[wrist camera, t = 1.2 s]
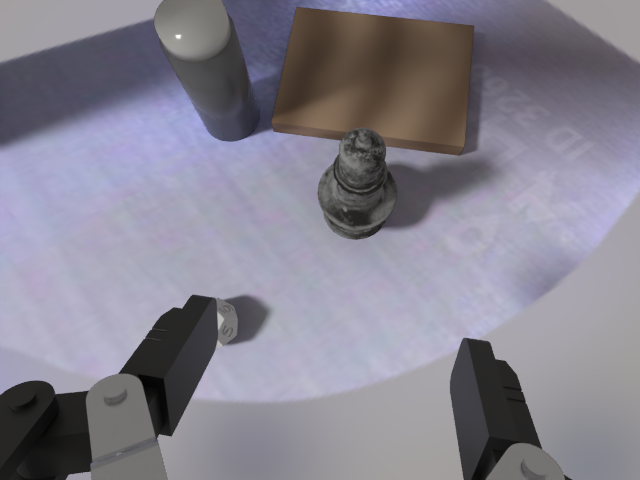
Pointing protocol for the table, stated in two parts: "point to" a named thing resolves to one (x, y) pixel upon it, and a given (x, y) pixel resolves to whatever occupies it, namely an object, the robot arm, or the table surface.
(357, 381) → the table surface
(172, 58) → the grey cylinder
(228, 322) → the game die
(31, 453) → the robot arm
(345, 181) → the grey chess piece
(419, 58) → the walnut board
